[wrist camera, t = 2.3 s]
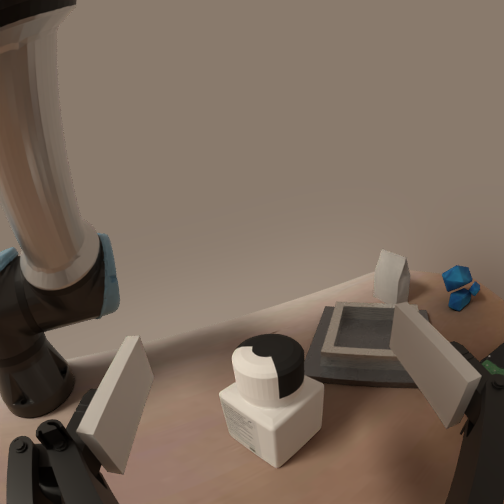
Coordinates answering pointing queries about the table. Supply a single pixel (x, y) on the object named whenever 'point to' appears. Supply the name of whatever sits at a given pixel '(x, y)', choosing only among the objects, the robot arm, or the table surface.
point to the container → (272, 398)
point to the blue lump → (455, 280)
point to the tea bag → (391, 278)
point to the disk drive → (495, 361)
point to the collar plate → (357, 347)
